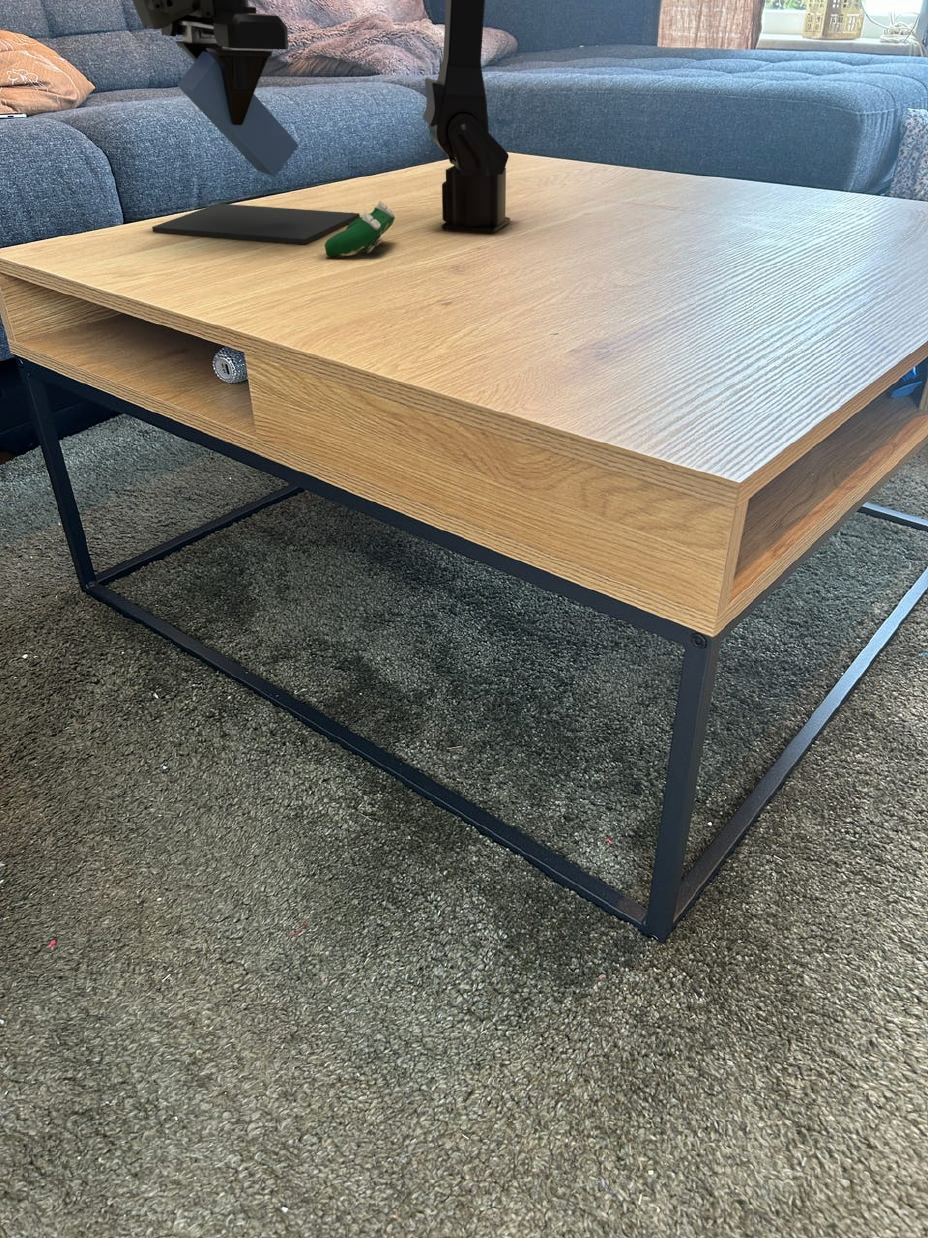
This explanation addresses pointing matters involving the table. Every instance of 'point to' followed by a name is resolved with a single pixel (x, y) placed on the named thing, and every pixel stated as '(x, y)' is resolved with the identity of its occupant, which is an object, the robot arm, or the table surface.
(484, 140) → the robot arm
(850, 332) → the table surface
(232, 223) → the mat
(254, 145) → the blue block
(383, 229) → the green toy shoe
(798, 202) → the table surface
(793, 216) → the table surface
